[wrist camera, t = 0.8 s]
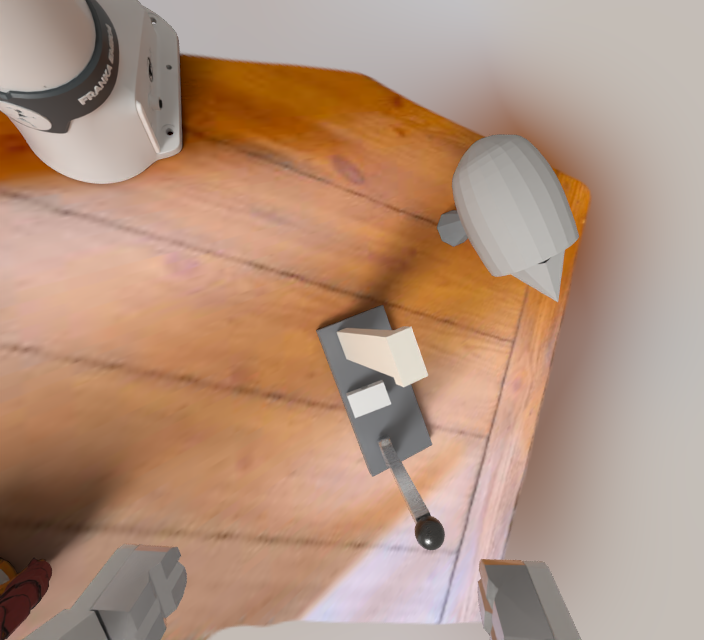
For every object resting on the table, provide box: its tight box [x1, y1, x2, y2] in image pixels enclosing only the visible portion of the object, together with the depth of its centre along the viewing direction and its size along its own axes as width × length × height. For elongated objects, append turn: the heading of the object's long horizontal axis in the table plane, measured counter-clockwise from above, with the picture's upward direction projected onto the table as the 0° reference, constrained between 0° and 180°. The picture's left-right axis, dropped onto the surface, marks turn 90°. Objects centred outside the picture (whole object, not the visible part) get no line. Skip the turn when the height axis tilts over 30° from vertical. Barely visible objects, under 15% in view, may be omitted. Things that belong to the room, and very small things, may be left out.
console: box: [316, 305, 432, 476], centre depth 49 cm, size 10×22×2 cm, turn 20°
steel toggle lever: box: [377, 435, 445, 550], centre depth 38 cm, size 3×4×19 cm
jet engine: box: [437, 135, 579, 302], centre depth 45 cm, size 15×20×18 cm
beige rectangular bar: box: [337, 327, 428, 387], centre depth 37 cm, size 2×4×19 cm, turn 20°
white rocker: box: [346, 380, 391, 418], centre depth 46 cm, size 5×3×1 cm, turn 111°
